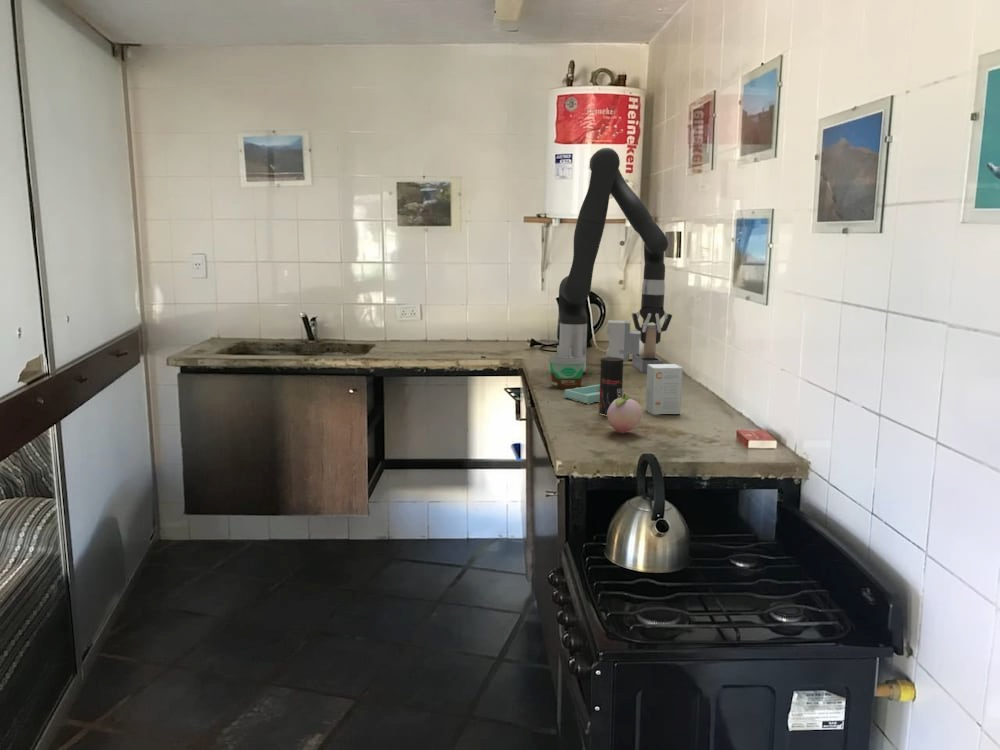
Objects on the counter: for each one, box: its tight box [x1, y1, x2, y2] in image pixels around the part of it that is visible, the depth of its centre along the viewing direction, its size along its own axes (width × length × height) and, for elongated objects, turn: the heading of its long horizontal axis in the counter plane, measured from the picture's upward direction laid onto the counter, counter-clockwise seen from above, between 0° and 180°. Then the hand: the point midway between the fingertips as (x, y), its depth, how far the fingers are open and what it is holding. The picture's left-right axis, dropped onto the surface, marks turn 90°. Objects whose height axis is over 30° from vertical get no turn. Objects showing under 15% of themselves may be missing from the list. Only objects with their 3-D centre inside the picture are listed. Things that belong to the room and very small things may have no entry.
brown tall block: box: [643, 324, 657, 358], centre depth 273 cm, size 4×4×11 cm
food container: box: [547, 354, 587, 389], centre depth 249 cm, size 12×6×10 cm, turn 105°
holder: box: [631, 340, 664, 374], centre depth 278 cm, size 16×7×12 cm, turn 3°
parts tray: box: [564, 384, 624, 403], centre depth 234 cm, size 14×10×2 cm
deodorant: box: [598, 356, 624, 415], centre depth 214 cm, size 6×6×15 cm
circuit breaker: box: [605, 319, 641, 362], centre depth 296 cm, size 8×14×15 cm, turn 78°
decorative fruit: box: [606, 393, 643, 434], centre depth 194 cm, size 9×8×10 cm
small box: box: [645, 363, 684, 415], centre depth 216 cm, size 8×6×13 cm
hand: (650, 342), depth 273 cm, fingers closed on brown tall block, 4 cm apart
